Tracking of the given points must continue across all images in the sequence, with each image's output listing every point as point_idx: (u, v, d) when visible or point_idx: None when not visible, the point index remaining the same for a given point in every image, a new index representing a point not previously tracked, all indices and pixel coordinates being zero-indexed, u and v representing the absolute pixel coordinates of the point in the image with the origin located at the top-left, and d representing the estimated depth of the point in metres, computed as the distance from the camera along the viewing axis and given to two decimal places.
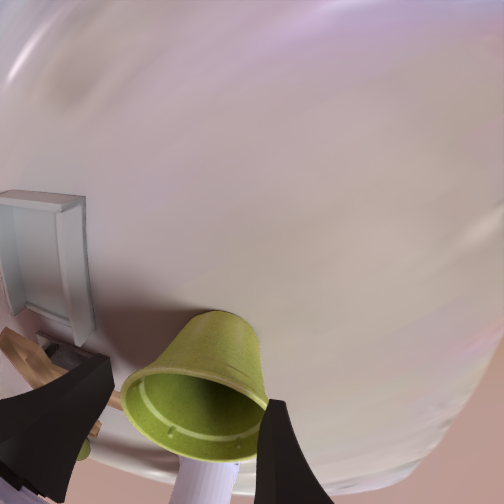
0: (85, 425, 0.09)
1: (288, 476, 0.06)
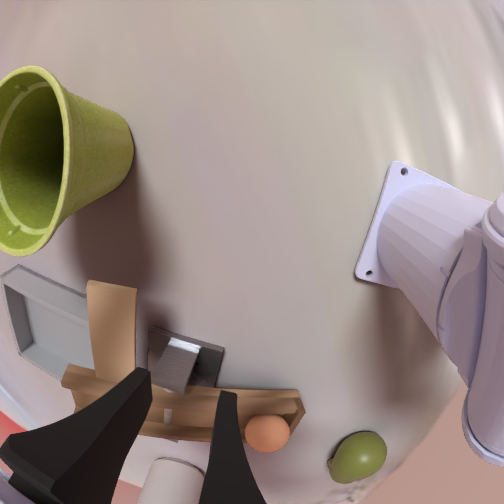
0: (127, 443, 0.08)
1: (221, 467, 0.06)
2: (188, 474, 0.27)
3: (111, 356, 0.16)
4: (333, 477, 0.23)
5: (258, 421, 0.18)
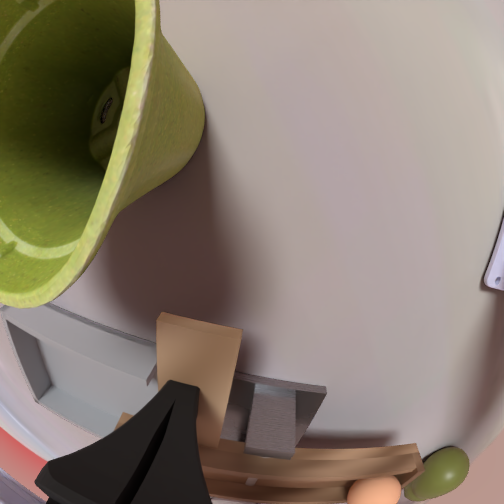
0: None
1: (170, 455, 0.06)
2: None
3: None
4: (410, 497, 0.17)
5: (369, 485, 0.11)
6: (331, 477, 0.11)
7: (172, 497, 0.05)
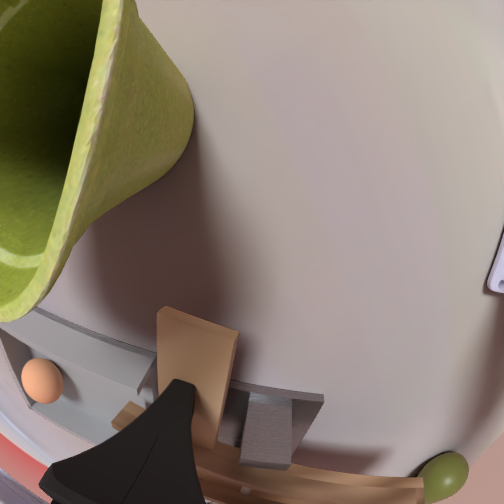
0: None
1: (164, 453, 0.06)
2: None
3: None
4: None
5: (49, 365, 0.15)
6: (322, 500, 0.09)
7: (165, 495, 0.05)
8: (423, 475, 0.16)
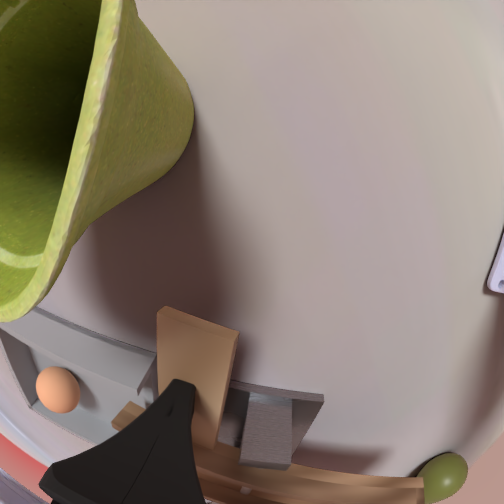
0: None
1: (164, 453, 0.06)
2: None
3: None
4: None
5: (57, 367, 0.15)
6: (322, 500, 0.09)
7: (165, 495, 0.05)
8: (422, 476, 0.16)
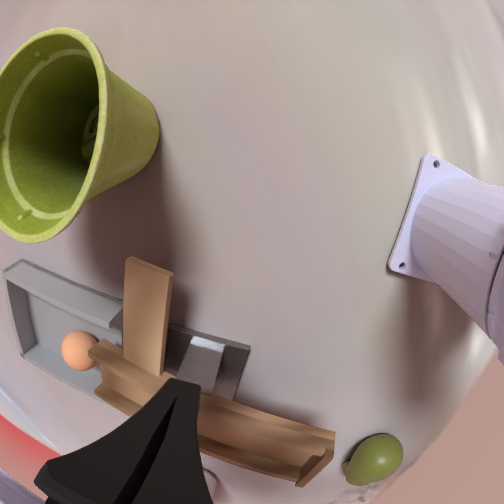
0: None
1: (171, 455, 0.06)
2: None
3: (140, 339, 0.17)
4: (349, 480, 0.23)
5: (66, 340, 0.18)
6: (238, 428, 0.15)
7: (173, 497, 0.05)
8: (357, 452, 0.22)
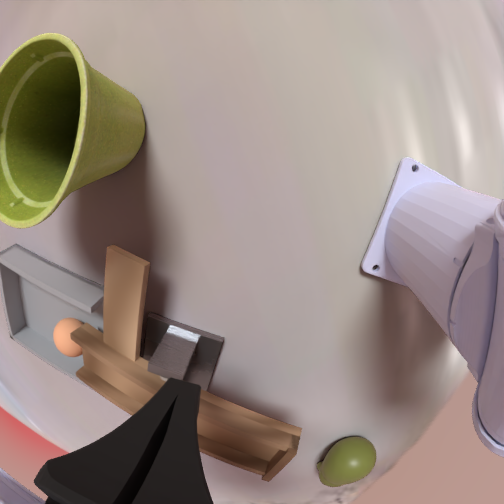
0: None
1: (171, 455, 0.06)
2: None
3: (118, 324, 0.17)
4: (322, 480, 0.24)
5: (60, 330, 0.19)
6: (205, 416, 0.16)
7: (173, 497, 0.05)
8: (330, 452, 0.23)
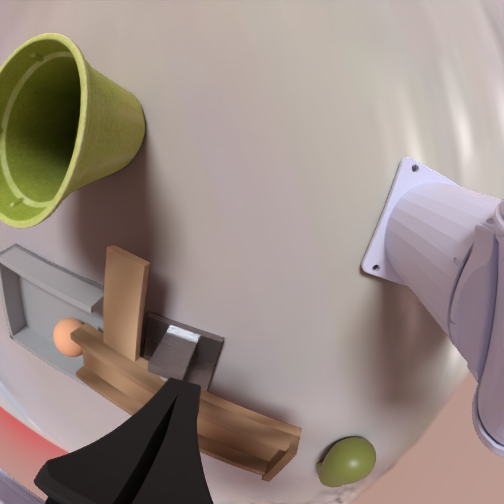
0: None
1: (171, 455, 0.06)
2: None
3: (118, 324, 0.17)
4: (322, 480, 0.24)
5: (60, 330, 0.19)
6: (205, 416, 0.16)
7: (173, 497, 0.05)
8: (329, 453, 0.23)
